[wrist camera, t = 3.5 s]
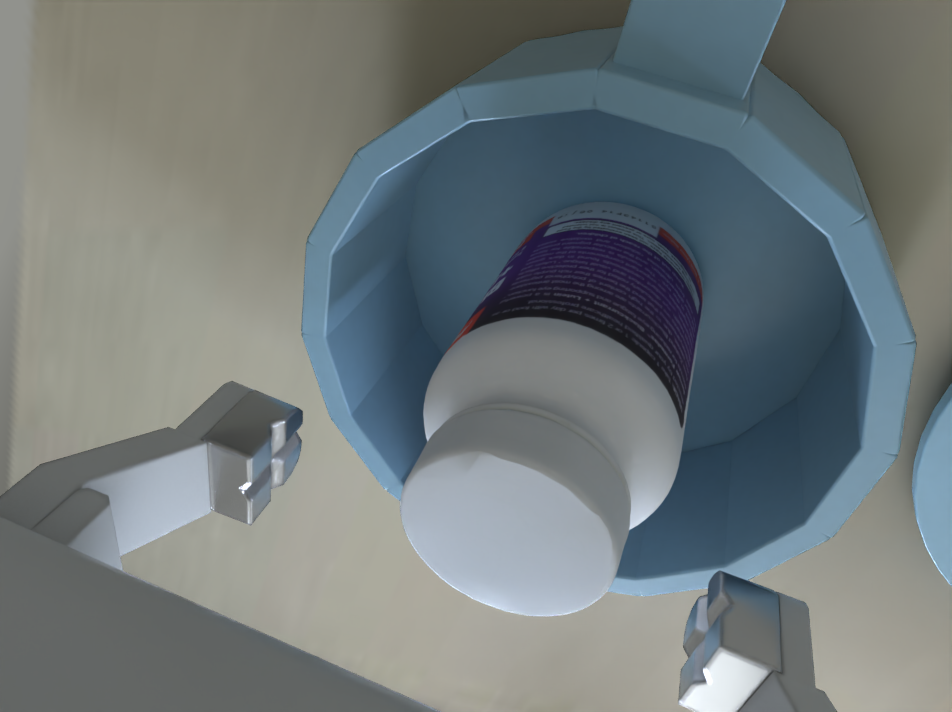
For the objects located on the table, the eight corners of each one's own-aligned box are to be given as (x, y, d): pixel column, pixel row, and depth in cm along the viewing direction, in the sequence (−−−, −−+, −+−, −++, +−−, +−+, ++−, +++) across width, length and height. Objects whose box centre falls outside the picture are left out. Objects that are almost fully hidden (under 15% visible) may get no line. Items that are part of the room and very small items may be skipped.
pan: (1093, -13, 13) (1242, 31, 9) (706, 571, 25) (695, 710, 20) (447, -177, 15) (329, -201, 11) (363, 432, 27) (289, 533, 22)
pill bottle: (508, 192, 19) (337, 393, 11) (715, 200, 17) (676, 443, 10) (518, 358, 22) (385, 608, 14) (696, 379, 20) (653, 675, 13)
